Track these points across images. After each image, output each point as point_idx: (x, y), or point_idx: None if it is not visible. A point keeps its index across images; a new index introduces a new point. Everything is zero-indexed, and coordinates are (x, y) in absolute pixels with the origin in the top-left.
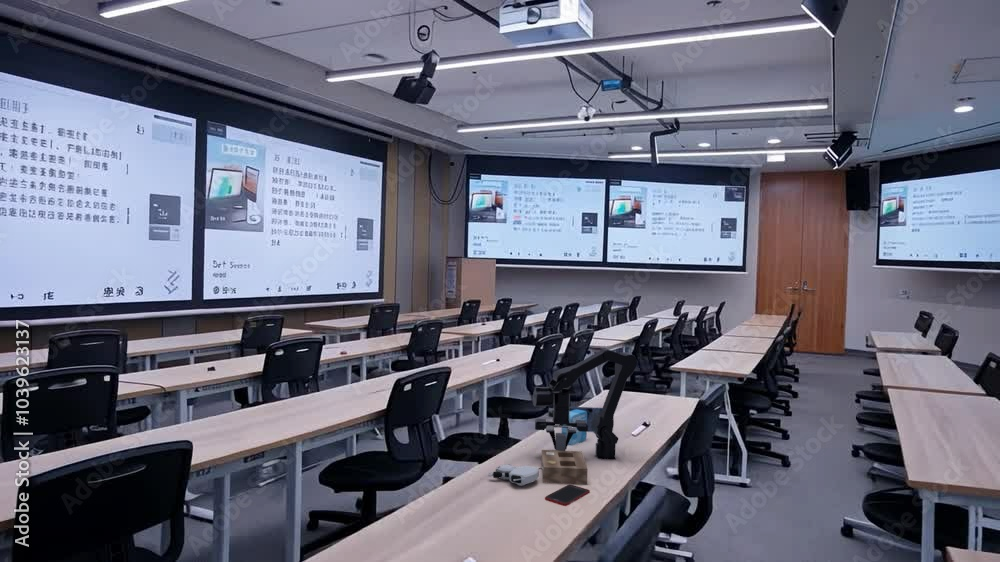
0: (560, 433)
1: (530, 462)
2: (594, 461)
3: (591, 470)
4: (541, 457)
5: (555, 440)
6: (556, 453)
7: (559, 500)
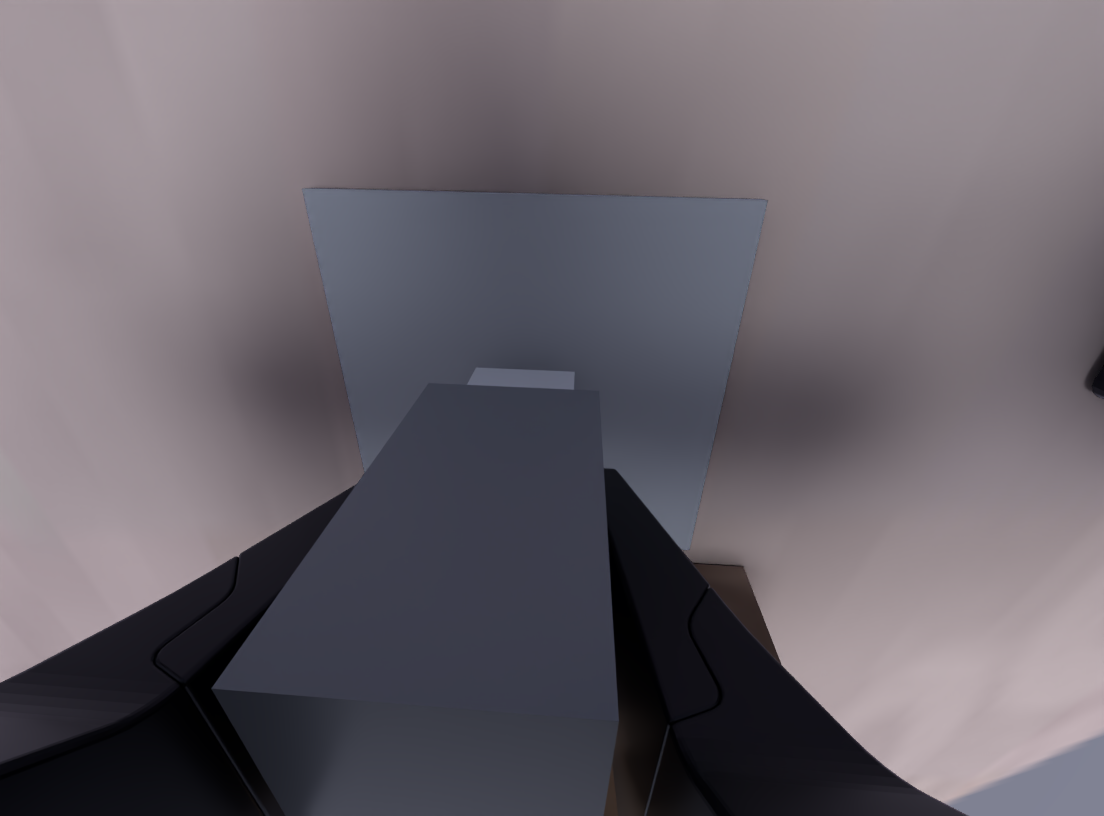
0: (417, 732)
1: (213, 502)
2: (979, 444)
3: (797, 657)
4: None
5: (357, 489)
6: None
7: None
